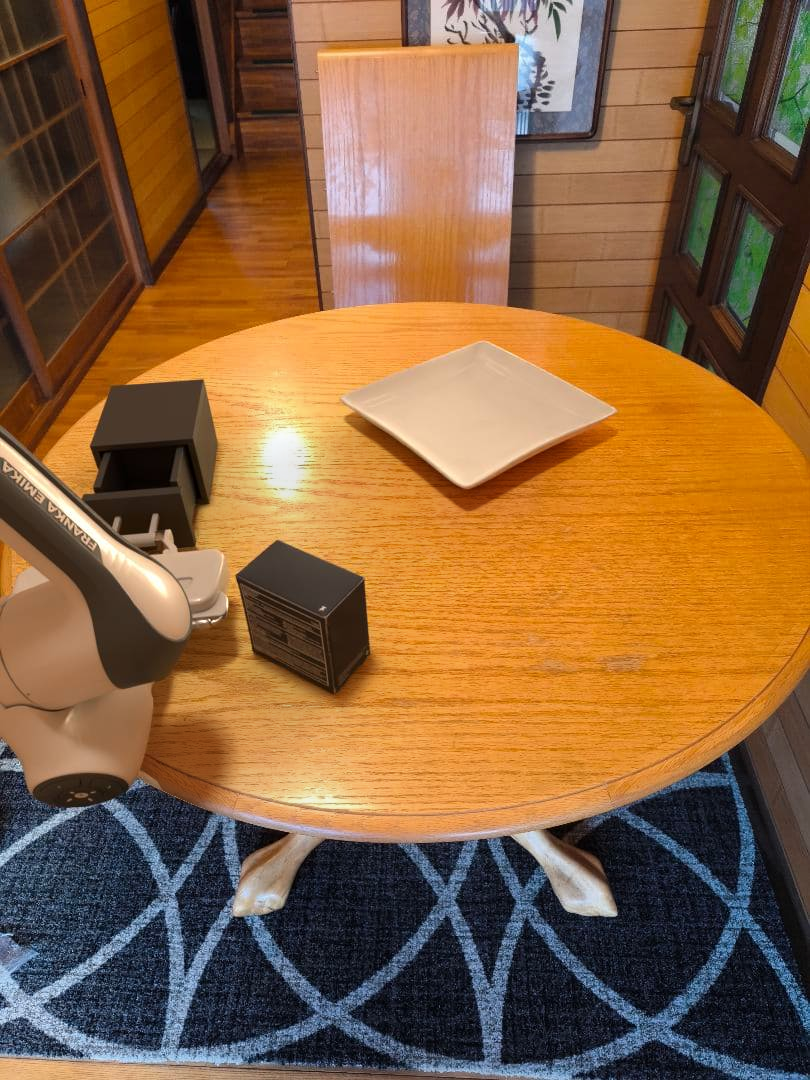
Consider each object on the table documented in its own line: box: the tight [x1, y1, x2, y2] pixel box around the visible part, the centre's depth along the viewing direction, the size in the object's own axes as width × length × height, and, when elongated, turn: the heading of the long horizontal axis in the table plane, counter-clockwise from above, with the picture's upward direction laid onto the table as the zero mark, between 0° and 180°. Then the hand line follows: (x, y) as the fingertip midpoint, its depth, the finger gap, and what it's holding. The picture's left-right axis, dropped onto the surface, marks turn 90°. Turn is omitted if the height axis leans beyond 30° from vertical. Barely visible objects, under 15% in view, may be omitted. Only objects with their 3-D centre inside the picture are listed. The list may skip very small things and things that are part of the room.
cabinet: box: [89, 378, 218, 506], centre depth 95 cm, size 14×12×10 cm
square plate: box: [339, 340, 618, 490], centre depth 104 cm, size 27×27×4 cm
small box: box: [235, 539, 371, 695], centre depth 72 cm, size 11×6×10 cm, turn 58°
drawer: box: [81, 444, 198, 553], centre depth 86 cm, size 17×10×8 cm, turn 6°
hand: (134, 537), depth 81 cm, fingers closed on drawer, 5 cm apart
